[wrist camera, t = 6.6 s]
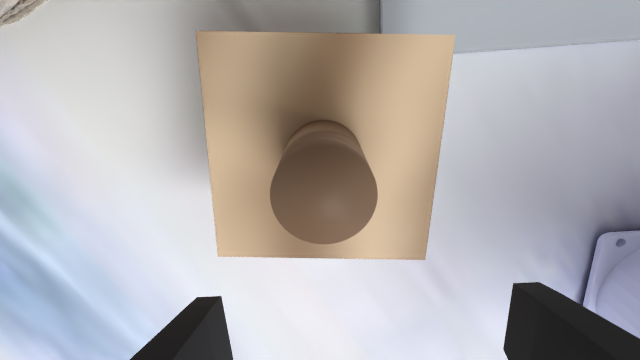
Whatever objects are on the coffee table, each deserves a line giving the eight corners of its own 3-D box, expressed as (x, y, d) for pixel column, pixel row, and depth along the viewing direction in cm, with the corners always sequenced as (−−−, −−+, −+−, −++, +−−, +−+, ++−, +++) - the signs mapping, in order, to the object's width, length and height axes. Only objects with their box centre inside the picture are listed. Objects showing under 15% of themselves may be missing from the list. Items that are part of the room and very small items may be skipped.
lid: (443, 37, 13) (519, 21, 8) (417, 245, 16) (460, 328, 11) (206, 33, 13) (134, 15, 8) (225, 242, 16) (181, 324, 11)
